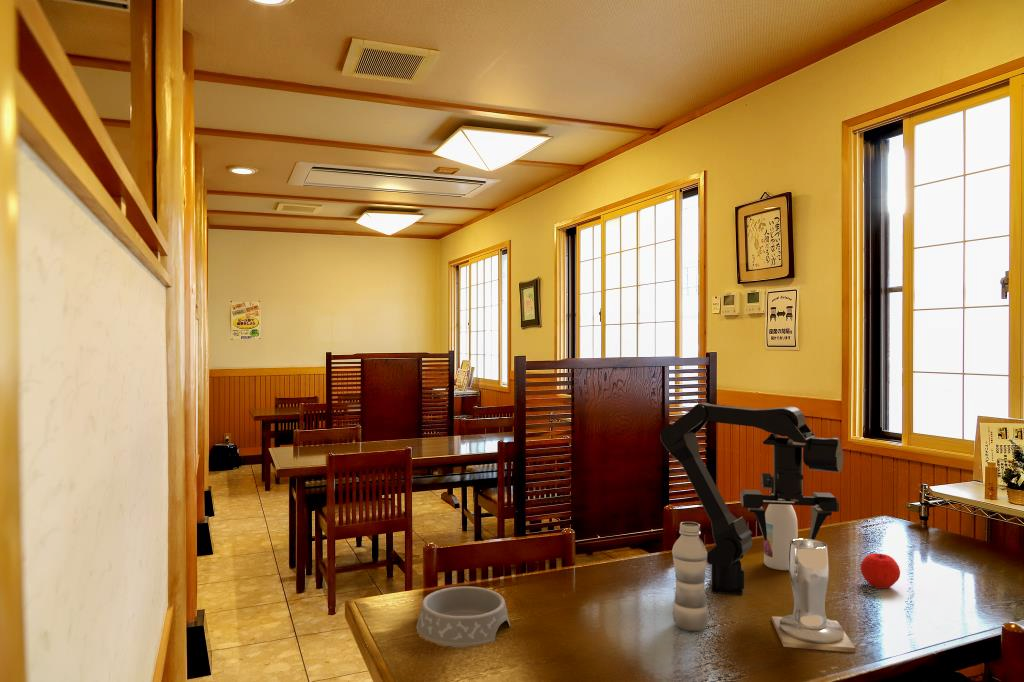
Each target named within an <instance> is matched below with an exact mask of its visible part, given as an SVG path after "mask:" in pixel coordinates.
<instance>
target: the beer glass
mask: <svg viewBox="0 0 1024 682" xmlns="http://www.w3.org/2000/svg"><path fill="white" fill-rule="evenodd" d="M788 572H789V579H790V585H791V589H792V595H793V603H794V604H793V610H792V611H793V612H792V615H793V617H792V621H793V623H794V624H796V625H797V626H800V627H803V628H807V629H823V628H826V627H827V619H828V618H827V616H826V609H825V607H826V606H825V603H826V597H827V596H826V595H827V589H828V585H829V584H828V583H829V577H830V565H829V554H828V544H827V543H825V541H821V540H817V539H815V540H812V539H810V538H798V539H793V540H791V541H790V546H789V570H788Z"/></svg>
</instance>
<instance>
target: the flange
mask: <svg viewBox="0 0 1024 682" xmlns="http://www.w3.org/2000/svg"><path fill="white" fill-rule="evenodd" d="M781 617H782V618H781V619H780V629H781V631H782V632H783V633H785V634H786V635H788V636H790V637H792V638H794V639H797V640H800V641H804V642H809V643H815V644H833V643H837V642H840V641H842V640H843V638H844V632H845V630H844V628H843V626H841V625H840V623H839V624H837V623H836V622H834V621H835V620H831V619H829V618H826V619H827V627H826V628H823V629H807V628H803V627H800V626H797V625H796V624H794V623H793V621H792V617H793V614H788V615H784V616H781Z"/></svg>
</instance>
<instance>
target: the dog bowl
mask: <svg viewBox="0 0 1024 682" xmlns="http://www.w3.org/2000/svg"><path fill="white" fill-rule="evenodd" d="M420 605H421V606H420V610H419V615H418V619H417V622H416V627H415V630H416V629H417V631H418V633H419V634H420V635H421V636H422V637H423V638H425V639H427V640H429V641H432V642H434V643H438V644H442V645H446V646H452V647H451V648H468V647H467V646H473V647H477V646H476V645H479V646H482V645H481V644H484V645H486V644H485V643H488V644H490V643H489V642H491V643H494V642H495V640H496V635H497V632H498V629H499V627H500V626H501V625H502V624H503V623H505V622H506V621H507V622H506V623H508V627H509V628H511V622H510V619H509V615H508V610H507V606H506V605H507V604H506V600H505V598H504V597H503V596H502V594H499V593H498V592H497V591H495V590H492V589H488V588H484V587H478V586H466V585H465V586H451V587H446V588H442V589H439V590H435V591H434V592H433V591H432V592H431V593H429V594H428V595H425V597H424V598H423V599H422V601H421V604H420ZM493 641H494V642H493ZM455 646H456V647H455Z"/></svg>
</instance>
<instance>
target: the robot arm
mask: <svg viewBox="0 0 1024 682" xmlns="http://www.w3.org/2000/svg"><path fill="white" fill-rule="evenodd" d="M708 422H710V423H719V424H727V425H729V424H730V425H736V426H743V427H744V426H746V427H753V428H757V429H760V430H762V431H765V432H767V433H769V436H768V437H767V438H766V439H764V440H763V441H762V444H763V445H769V446H773V451H772V452H773V456H772V457H773V468H772V469H773V475H772V474H771V472H768V473H767V472H766V473H765V472H761V474H760V483H761V489H764V490H765V489H769V490H770V494H763V493H762V492H761V491H760V490H759V489H742V490H741V491H740V493H739V500H740V501H739V502H740V505H741V506H742V508H745V509H748V511H749V512H750V513H754V515H755V517H756V520H757V522H758V524H759V529H760V532H761V534H762V538H763V541H764V540H765V541H767V530H766V519H765V512H766V510H765V509H764V508H763V506H764V505H769V504H782V505H792V506H809V507H810V512H811V514H810V515H811V517H810V518H811V520H810V526H809V529H810V530H809V539H812V540H816V538H817V535H818V534H819V530H820V529H821V527H822V525H823V524H824V522H825V520H826V518H827V517H829V516H830V517H831V516H833V513H834V512H835V513H838V512H840V502H839V499H838V498H837V497H836V496H834V495H833V494H832V492H816V491H814V492H812V496H808V495H807V496H805V495H804V494H803V493H804V489H803V487H804V485H803V484H804V483H803V482H804V475H803V471H804V470H803V466H804V465H805V466H806V467H808V469H809V470H811V471H822V472H831V473H832V472H833V473H841V472H842V469H843V464H844V453H843V449H842V444H841V439H840V438H839V437H828V438H827V437H826V438H825V437H817V436H816V435H815V434H814V432H813V431H812V429H811V428H810V427H809V424H807V423H806V416H805V415H804V413H803V412H802V411H801V410H800V408H798V407H795V406H781V407H779V406H778V407H771V408H751V407H740V406H733V405H732V406H731V405H722V404H713V403H712V404H711V403H708V402H702V403H698V404H697V403H696V405H694V406H693V407H692V408H691V409H690V410H689V411H688V412H686V413H685V414H684V415H683V416H680V418H678V419H677V420H676V421H674V422H673V423H669V424H666V425H665V426H663V428H662V430H661V432H660V434H659V438H660V442H661V443H662V446H664V447H665V449H666V450H667V451H668V453H669V455H671V456H672V457H673V458H674V459H675V460H677V462H679V463H680V464H681V466H682V468H683V470H684V472H685V475H686V476H687V478H688V480H689V481H690V484H691V486H692V487H693V489H694V491H695V493H696V495H697V497H698V499H699V501H700V503H701V505H702V506H703V509H704V511H705V512H706V515H707V516H708V518H709V520H710V522H711V533H712V538H713V541H714V543H715V546H714V547H713V548H712V549H711V550H708V551H707V563H708V565H710V580H709V586H710V590H711V593H715V594H726V595H727V594H728V595H730V594H731V595H744V593H743V590H744V589H745V570H744V568H743V566H742V563H741V561H740V560H741V559H743V558H744V555H745V554H746V553H748V552H750V550H751V548H752V544H753V538H752V535H753V532H752V531H751V530H750V529H749V527H748V525H747V523H746V520H745V518H744V517H743V516H741V517H738V518H737V517H736V516H735V515H734V514H733V513H731V510H730V509H729V507H728V506H727V504H726V502H725V500H724V498H723V496H722V495H721V492H720V491H719V489H718V487H717V486H716V483H715V482H714V479H713V478H712V476H711V474H710V472H709V470H708V468H707V466H706V465H705V463H704V461H703V458H702V457H701V455H700V447H699V446H700V445H699V441H698V437H697V435H696V434H697V433H699V432H700V431H701V430H702V429H703V427H704V426H705V425H706V424H708ZM803 464H804V465H803ZM772 494H774V495H772ZM778 499H782V500H778Z"/></svg>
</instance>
